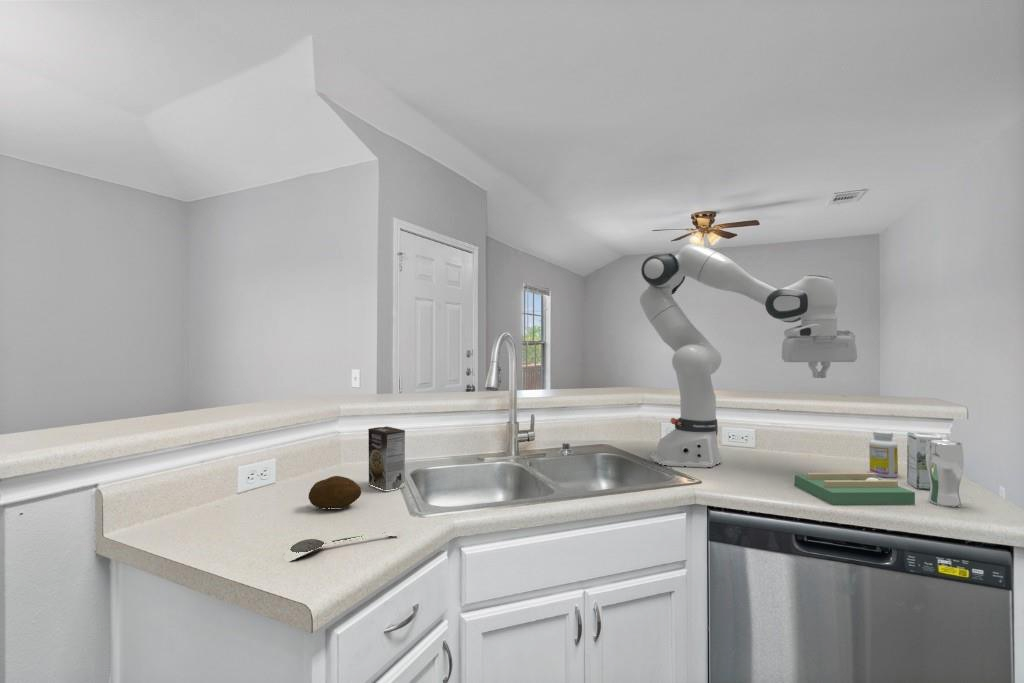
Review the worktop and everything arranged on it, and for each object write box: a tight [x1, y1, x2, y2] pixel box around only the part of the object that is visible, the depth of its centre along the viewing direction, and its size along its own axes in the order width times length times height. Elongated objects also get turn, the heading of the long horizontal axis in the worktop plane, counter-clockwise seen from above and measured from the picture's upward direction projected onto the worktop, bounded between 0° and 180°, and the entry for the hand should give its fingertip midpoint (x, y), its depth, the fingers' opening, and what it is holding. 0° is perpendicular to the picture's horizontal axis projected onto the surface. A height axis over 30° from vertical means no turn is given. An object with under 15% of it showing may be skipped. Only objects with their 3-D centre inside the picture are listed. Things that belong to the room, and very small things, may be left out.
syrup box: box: [906, 431, 943, 491], centre depth 131 cm, size 6×6×14 cm
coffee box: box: [367, 426, 406, 490], centre depth 135 cm, size 9×6×16 cm
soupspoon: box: [290, 532, 386, 553], centre depth 95 cm, size 22×3×7 cm
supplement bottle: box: [868, 430, 899, 479], centre depth 144 cm, size 7×7×13 cm
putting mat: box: [793, 472, 916, 506], centre depth 126 cm, size 20×16×4 cm
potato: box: [307, 475, 362, 510], centre depth 118 cm, size 8×12×8 cm, turn 102°
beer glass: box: [926, 439, 965, 508], centre depth 119 cm, size 7×7×15 cm
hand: (819, 377), depth 142 cm, fingers closed
